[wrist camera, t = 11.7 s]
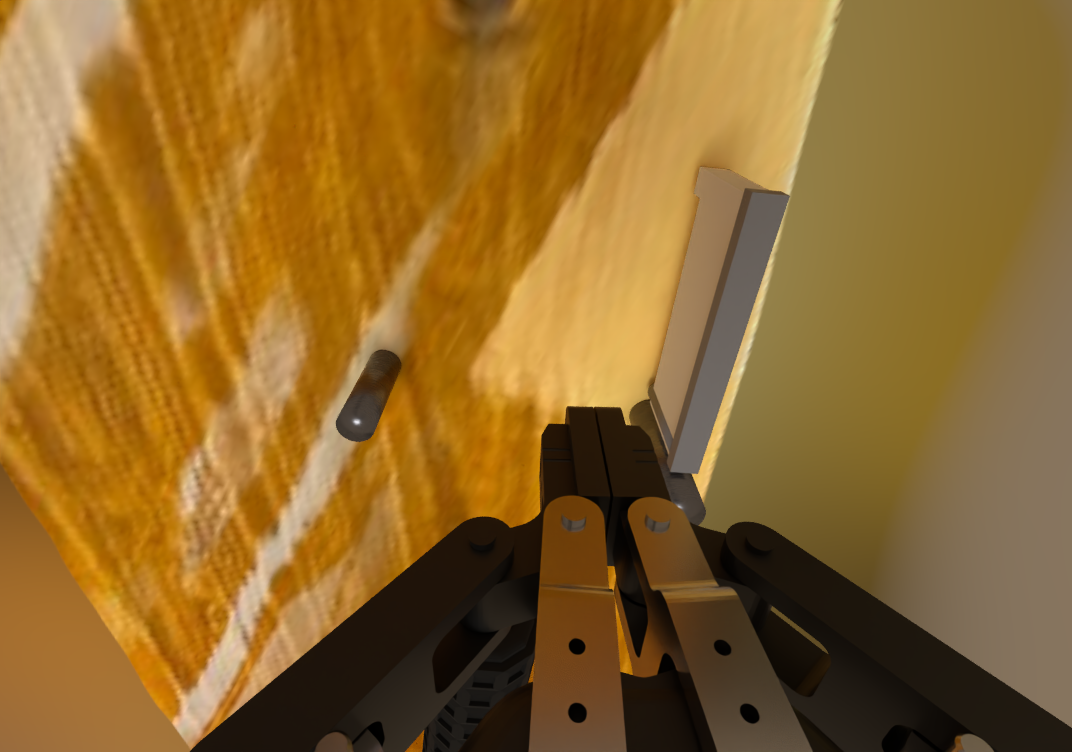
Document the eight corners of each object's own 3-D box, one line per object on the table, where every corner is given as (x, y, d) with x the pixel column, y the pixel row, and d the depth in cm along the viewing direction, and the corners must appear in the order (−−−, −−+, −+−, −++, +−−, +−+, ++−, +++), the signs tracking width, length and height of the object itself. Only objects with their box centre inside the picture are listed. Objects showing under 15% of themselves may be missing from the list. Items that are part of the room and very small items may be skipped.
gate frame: (370, 343, 39) (320, 433, 29) (671, 403, 42) (713, 502, 33) (367, 377, 40) (318, 473, 31) (658, 432, 43) (695, 535, 34)
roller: (506, 770, 71) (477, 862, 62) (440, 741, 72) (403, 826, 64) (555, 589, 51) (523, 686, 43) (463, 555, 53) (415, 642, 45)
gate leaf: (667, 400, 41) (697, 473, 33) (644, 398, 40) (670, 472, 33) (729, 165, 32) (789, 195, 25) (701, 163, 32) (752, 192, 24)
